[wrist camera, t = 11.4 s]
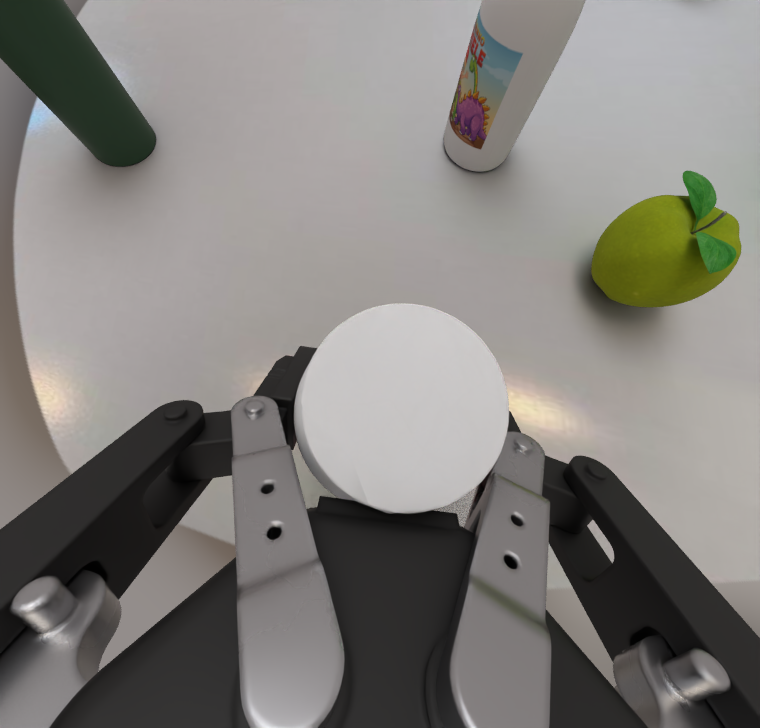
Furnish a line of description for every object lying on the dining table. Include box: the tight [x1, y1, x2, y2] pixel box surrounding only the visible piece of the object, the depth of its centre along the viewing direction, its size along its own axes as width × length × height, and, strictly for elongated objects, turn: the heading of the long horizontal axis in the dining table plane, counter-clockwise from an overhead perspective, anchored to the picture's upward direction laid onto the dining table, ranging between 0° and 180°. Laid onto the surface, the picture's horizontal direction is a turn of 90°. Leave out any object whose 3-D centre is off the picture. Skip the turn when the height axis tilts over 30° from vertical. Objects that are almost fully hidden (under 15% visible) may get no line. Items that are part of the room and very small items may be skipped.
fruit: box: [591, 171, 741, 307], centre depth 26 cm, size 9×9×10 cm
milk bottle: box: [444, 0, 585, 172], centre depth 24 cm, size 8×8×20 cm
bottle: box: [0, 0, 156, 166], centre depth 22 cm, size 6×6×19 cm
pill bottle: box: [294, 303, 509, 514], centre depth 12 cm, size 6×6×11 cm
